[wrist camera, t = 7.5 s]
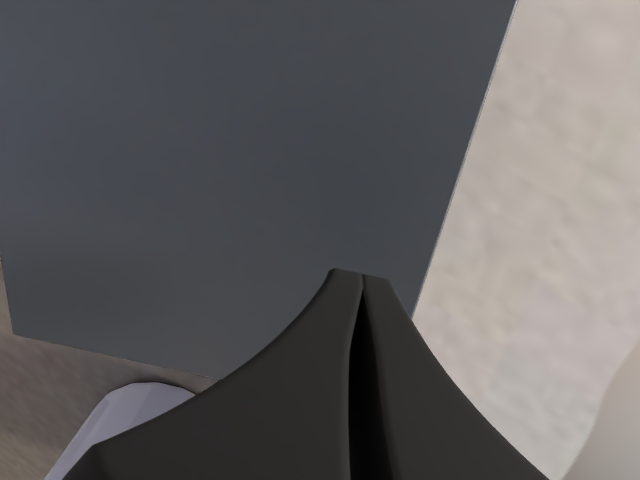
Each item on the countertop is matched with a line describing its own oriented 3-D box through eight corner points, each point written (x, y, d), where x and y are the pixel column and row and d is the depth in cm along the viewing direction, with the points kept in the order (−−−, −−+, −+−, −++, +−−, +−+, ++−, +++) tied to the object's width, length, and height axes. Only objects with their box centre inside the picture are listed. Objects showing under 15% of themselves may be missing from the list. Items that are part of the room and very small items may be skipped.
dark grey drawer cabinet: (138, -136, 16) (-87, -268, 8) (475, -70, 16) (566, -143, 8) (139, 221, 22) (12, 335, 14) (380, 272, 22) (380, 415, 14)
